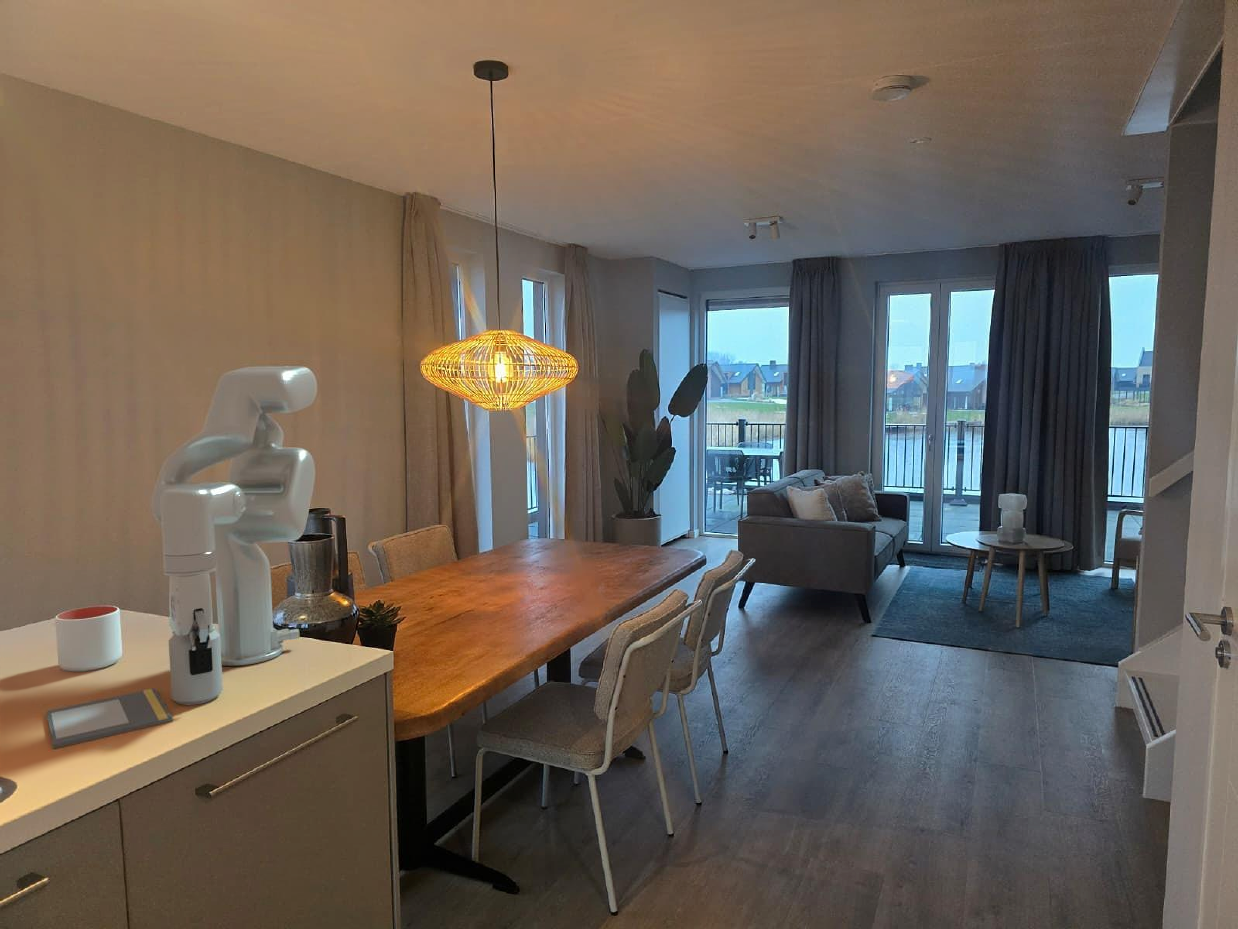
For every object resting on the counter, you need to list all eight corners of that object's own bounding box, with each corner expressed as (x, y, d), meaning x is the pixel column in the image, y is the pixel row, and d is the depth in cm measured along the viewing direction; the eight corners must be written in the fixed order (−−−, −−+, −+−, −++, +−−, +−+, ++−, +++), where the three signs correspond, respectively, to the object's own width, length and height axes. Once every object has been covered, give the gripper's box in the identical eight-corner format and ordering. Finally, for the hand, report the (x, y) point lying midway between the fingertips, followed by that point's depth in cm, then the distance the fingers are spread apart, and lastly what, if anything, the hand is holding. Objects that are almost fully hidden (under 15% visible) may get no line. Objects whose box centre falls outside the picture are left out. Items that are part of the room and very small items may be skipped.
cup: (49, 676, 142) (45, 622, 141) (70, 659, 152) (67, 608, 151) (112, 670, 145) (109, 617, 144) (129, 653, 154) (126, 603, 154)
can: (232, 695, 132) (228, 625, 131) (189, 710, 126) (184, 637, 125) (206, 687, 136) (202, 619, 135) (162, 701, 130) (158, 630, 129)
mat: (155, 691, 134) (155, 687, 134) (172, 721, 122) (172, 716, 121) (46, 714, 125) (46, 710, 125) (53, 748, 112) (52, 744, 112)
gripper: (154, 558, 133) (160, 657, 134) (173, 574, 120) (179, 684, 121) (204, 553, 138) (208, 649, 139) (227, 568, 124) (232, 674, 126)
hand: (195, 665), depth 130 cm, fingers open, 9 cm apart
